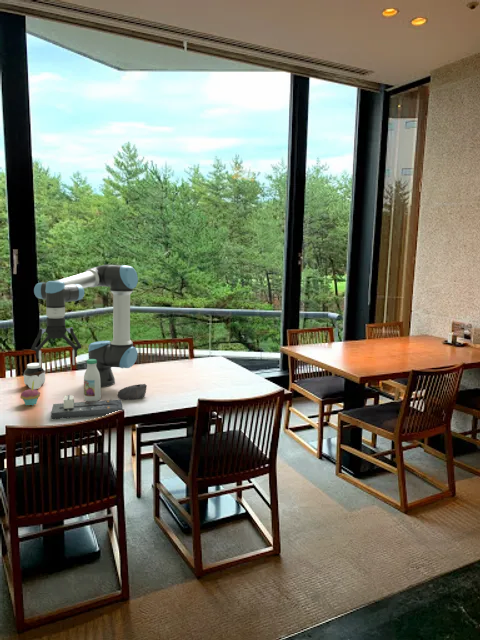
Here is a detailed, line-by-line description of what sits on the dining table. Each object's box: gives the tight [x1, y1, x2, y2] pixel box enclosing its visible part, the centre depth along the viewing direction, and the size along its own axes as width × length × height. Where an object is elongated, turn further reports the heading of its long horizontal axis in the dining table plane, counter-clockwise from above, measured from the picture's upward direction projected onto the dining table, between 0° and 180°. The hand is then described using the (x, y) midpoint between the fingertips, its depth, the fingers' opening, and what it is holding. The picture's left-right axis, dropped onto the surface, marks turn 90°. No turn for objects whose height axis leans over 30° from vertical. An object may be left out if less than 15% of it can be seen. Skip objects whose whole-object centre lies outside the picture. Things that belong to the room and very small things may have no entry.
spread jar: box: [23, 362, 46, 390], centre depth 252 cm, size 12×11×12 cm
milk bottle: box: [83, 358, 102, 402], centre depth 233 cm, size 8×8×20 cm
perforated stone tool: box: [117, 383, 147, 401], centre depth 237 cm, size 15×5×7 cm, turn 115°
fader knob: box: [63, 394, 75, 409], centre depth 214 cm, size 6×4×4 cm, turn 17°
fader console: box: [50, 398, 123, 420], centre depth 217 cm, size 12×30×3 cm, turn 107°
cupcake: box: [20, 381, 41, 406], centre depth 225 cm, size 9×8×12 cm
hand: (57, 365), depth 209 cm, fingers open, 13 cm apart
